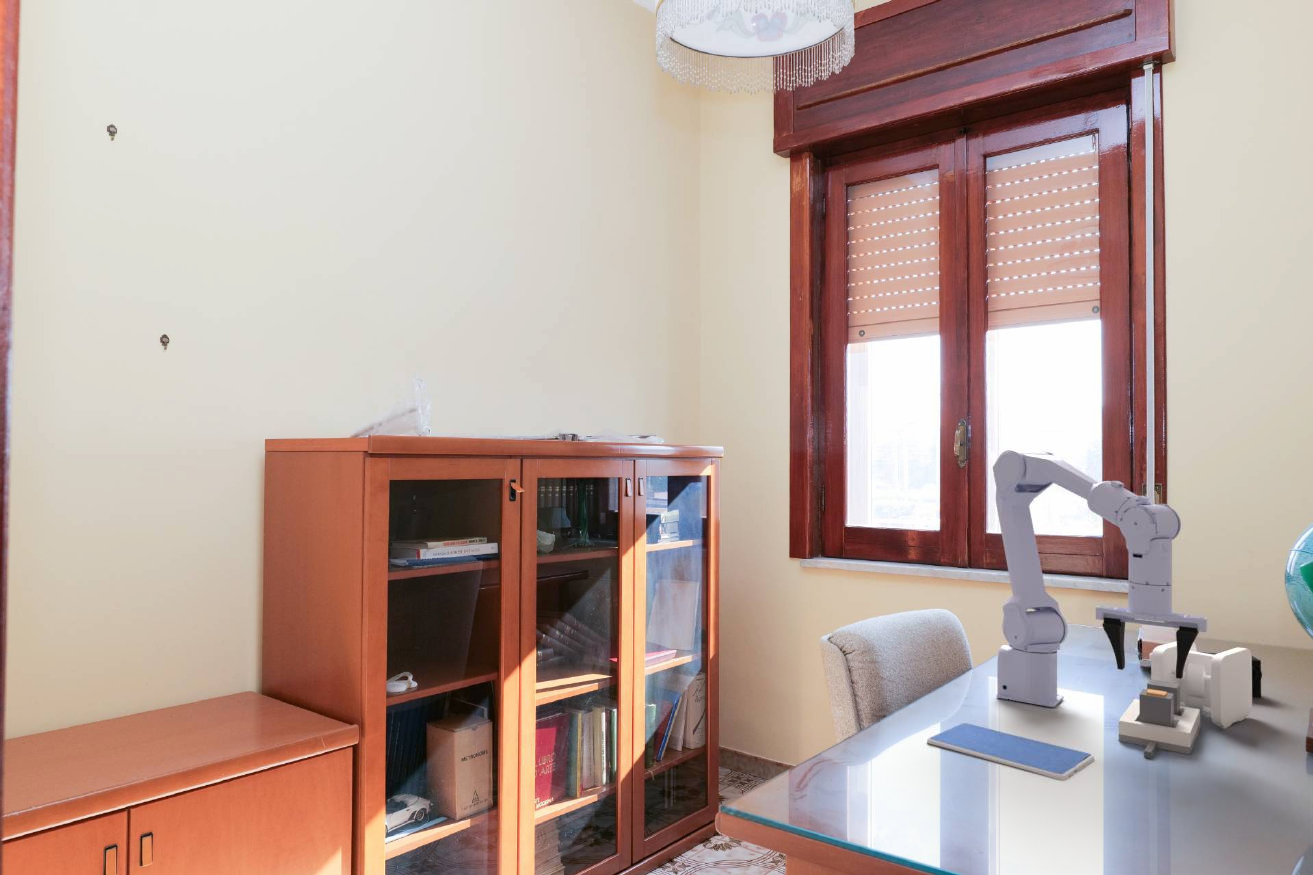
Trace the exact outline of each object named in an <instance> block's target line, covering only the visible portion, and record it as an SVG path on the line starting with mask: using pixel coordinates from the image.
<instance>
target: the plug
mask: <svg viewBox="0 0 1313 875" xmlns="http://www.w3.org/2000/svg"><path fill="white" fill-rule="evenodd" d="M1138 695H1139V700H1140V722H1143V723H1149V724H1155V725H1160V726H1166V727H1172V728H1174V694H1172V693H1167V692H1165V691H1158V690H1152V689H1148V690H1147V689H1146V688H1142V690H1141V692H1140V693H1139V694H1138Z"/></svg>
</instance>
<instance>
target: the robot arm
mask: <svg viewBox="0 0 1313 875" xmlns="http://www.w3.org/2000/svg"><path fill="white" fill-rule="evenodd" d="M992 471H993V477H994V483H995V487H996V488H995V504H996V509H997V516H998V521H999V527H1000V532H1001V537H1002V538H1001V539H1002V542H1003V543H1002V544H1003V548H1004V555H1005V560H1006V565H1007V571H1008V576H1009V581H1010V586H1011V591H1012V594H1011V596H1010V598H1009V599H1008V600H1007V601H1005V603H1004V604H1003V605H1002V612H1003V619H1002V634H1003V636H1004V638H1005V640H1006V641H1007V643H1009V645H1007V644H1004V645H1001V646H1000V647H999V650H998V655H997V664H996V666H997V674H996V675H997V679H996V681H997V682H996V683H997V692H996V693H997V694H995V695H996V698H998V699H1003V700H1008V699H1009V700H1010V701H1014V702H1020V703H1021V702H1022V703H1027V704H1030V705H1032V704H1033V705H1037V706H1044V707H1048V708H1055V707H1056V706H1057V705H1058V704H1059V703H1060V702H1061V701H1062V700H1064V698H1065V697H1064V695H1062V694H1061V695H1060V694H1058V651H1059V650H1061V645H1062V643H1064V642H1065V640H1067V636H1068V624H1067V621H1066V618H1064V616H1063V615H1062V614H1063V613H1062V612H1061V611H1060V606H1059V602H1058V601H1057V600H1056V599H1054V597H1053V596H1051V595H1050V594H1049V592H1047V591H1046V587H1045V581H1044V576H1043V571H1042V566H1041V559H1040V556H1039V551H1038V550H1039V549H1038V545H1037V539H1036V534H1035V529H1034V524H1033V519H1032V515H1031V509H1030V507H1031V506H1030V505H1031V504H1032V502H1033V501H1034V499H1035V498H1037V497H1038V496H1040V495H1041V494H1042V493H1044V492H1045V491H1046V490H1047V489H1048V488H1049V487H1051V486H1052V485H1053V484H1055V485H1056V486H1059V487H1061V488H1063V489H1065V490H1067V491H1069V492H1070V493H1072V494H1074V495H1077V496H1079V497H1080V498H1083V499H1084V500H1086V502H1087V507H1088V509H1089V510H1090V511H1091V512H1092V513H1093V514H1094V513H1095V514H1096V515H1098V516H1099V517H1101V518H1102V519H1104V520H1106V521H1108V522H1109V523H1111V524H1113V525H1115V526H1116V527H1118V528H1119V531H1120V532H1121V534H1122V536H1123V537H1124V539H1125V545H1126V546H1125V549H1127V552H1128V593H1127V594H1128V597H1127V598H1128V604H1127V606H1128V607H1120V606H1119V607H1117V606H1108V605H1107V606H1104V605H1097V606H1096V607H1095V619H1096V620H1098V621H1099V620H1101V621H1103V622H1102V628H1103V630H1104V633H1105V634H1106V635H1107V638H1108V640H1109V642H1110V645H1111V647H1112V648H1111V649H1112V650H1113V653H1114V656H1115V661H1116V665H1117V666H1116V668H1117V670H1120V671H1123V670H1124V669H1125V665H1126V659H1125V658H1126V656H1125V632H1126V623H1131V624H1138V625H1139V624H1140V625H1147V626H1148V625H1149V626H1154V627H1155V626H1157V627H1165V628H1173V629H1175V628H1176V629H1177V630H1176V632H1175V637H1176V639H1175V640H1176V641H1177V663H1176V678H1180V679H1182V677H1183V670H1184V666H1185V662H1186V659H1187V656H1188V653H1189V651H1190V649H1191V646H1192V644H1193V642H1194V643H1195V640H1196V639H1197V637H1198V636H1199V633H1207V632H1208V617H1205V616H1197V615H1190V614H1186V613H1185V614H1184V613H1183V614H1182V613H1177V612H1173V601H1172V599H1173V597H1172V596H1173V540H1175V539H1176V538H1177V537H1178V535H1179V534H1180V532H1181V529H1182V522H1181V518H1180V516H1179V514H1178V513H1177V511H1176V510H1175V509H1174V508H1172V507H1171V506H1170V505H1169V504H1167V503H1156V504H1152V503H1151V502H1150V499H1149V498H1148V497H1147V496H1145V495H1138V494H1135V493H1134V492H1132V491H1130V490H1128V489H1126V488H1124V487H1125V484H1124V482H1121V481H1119V480H1111V481H1110V480H1105V481H1101V482H1099V481H1097V480H1095V479H1094V478H1092V477H1091V476H1089V475H1087V474H1085V473H1084V472H1083V471H1081V470H1079V469H1078V468H1077V467H1074V466H1073V465H1072V464H1070V463H1069V462H1067V461H1065V460H1064V458H1063V457H1062V456H1059V455H1055V454H1054V453H1052V452H1051V451H1045V450H1044V451H1028V450H1027V451H1026V450H1024V451H1020V450H1015V449H1014V450H1013V449H1008V450H1007V449H1006V450H1004V451H1003V452H1001V454H1000V455H999V456H998V458H997V459H996V461H995V463H993V466H992ZM1028 609H1029V610H1028ZM1031 610H1032V611H1031Z"/></svg>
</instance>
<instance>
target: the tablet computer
mask: <svg viewBox="0 0 1313 875" xmlns="http://www.w3.org/2000/svg"><path fill="white" fill-rule="evenodd" d="M926 743H927V744H930V745H931V746H932V745H933V746H936V747H939V748H944V749H948V750H951V751H954V752H957V753H962V754H965V755H968V756H972V757H976V758H980V759H982V760H988V761H991V762H994V763H997V764H1001V765H1006V766H1009V767H1013V768H1015V769H1020V770H1024V771H1027V772H1030V773H1034V774H1038V775H1040V776H1044V777H1048V778H1050V779H1055V780H1058V781H1059V780H1060V781H1065V780H1067V779H1069V778H1070V777H1071V776H1074V774H1076V773H1078V772H1079V771H1080V770H1083V769H1084V768H1085V767H1087V766H1088V765H1090V764H1091V763H1093V762H1094V761H1095V756H1094V755H1093V754H1091V753H1088V752H1086V751H1080V750H1076V749H1073V748H1067V747H1064V746H1060V745H1056V744H1051V743H1049V742H1048V743H1047V742H1043V741H1039V740H1036V739H1032V738H1028V737H1023V736H1018V735H1015V734H1011V733H1006V732H1003V731H999V730H995V729H992V728H987V727H984V726H981V725H980V726H979V725H975V724H972V723H967V722H962V723H960V724H957V725H955V726H953V727H950V728H949V729H946V730H944V731H942V732H939V733H937V734H935V735H933V736H930V737H928V738H927V739H926Z"/></svg>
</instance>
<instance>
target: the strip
mask: <svg viewBox="0 0 1313 875" xmlns="http://www.w3.org/2000/svg"><path fill="white" fill-rule="evenodd" d="M1146 684H1147V686H1146V688H1147V689H1146V690H1148V689H1152V690H1158V691H1165V692H1167V693H1172V694H1174V728H1172V727H1166V726H1160V725H1155V724H1149V723H1143V722H1140V698H1139V699H1138V698H1134V699H1133V701H1132V702H1131V703H1130V704H1129V706H1128V707H1127V709H1126V710H1125V711H1124V713H1123V714H1122V716H1121V717H1120V718H1119V720H1118V741H1119V742H1123V743H1128V744H1133V745H1138V746H1139V745H1140V746H1144V747H1145V749H1144V751H1143V758H1145V759H1150V760H1152V759H1153V758H1154V755H1155V753H1156V751H1157V749H1160V750H1165V751H1170V752H1176V753H1181V754H1186V755H1191V753H1192V750H1193V748H1194V745H1195V742H1196V740H1197V737H1198V734H1199V732H1200V730H1201V709H1197V708H1193V707H1183V706H1180V683H1173V682H1167V681H1160V680H1153V679H1150V680H1149V681H1148V682H1147V683H1146Z"/></svg>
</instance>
